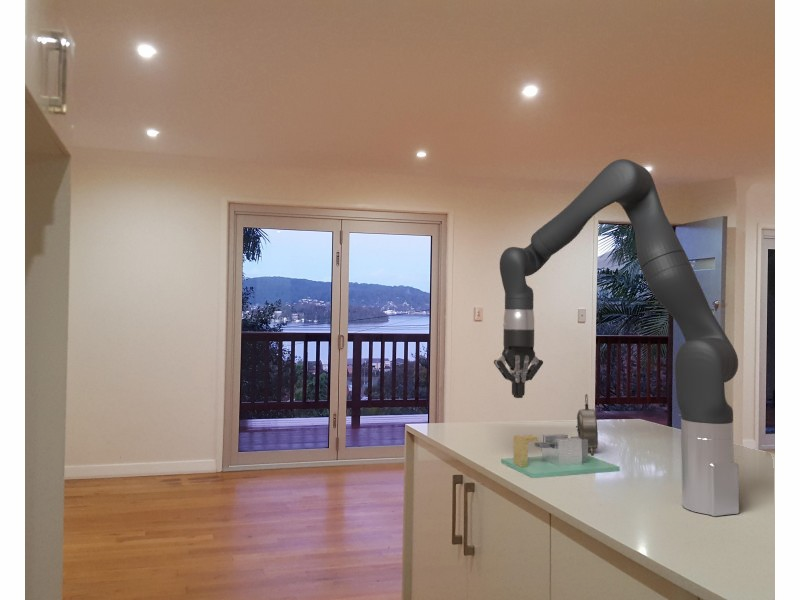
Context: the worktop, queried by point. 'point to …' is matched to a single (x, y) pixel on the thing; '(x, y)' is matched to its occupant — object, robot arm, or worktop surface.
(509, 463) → the pcb board
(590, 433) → the alarm clock
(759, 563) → the worktop surface
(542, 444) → the strap
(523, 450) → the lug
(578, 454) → the heat sink
